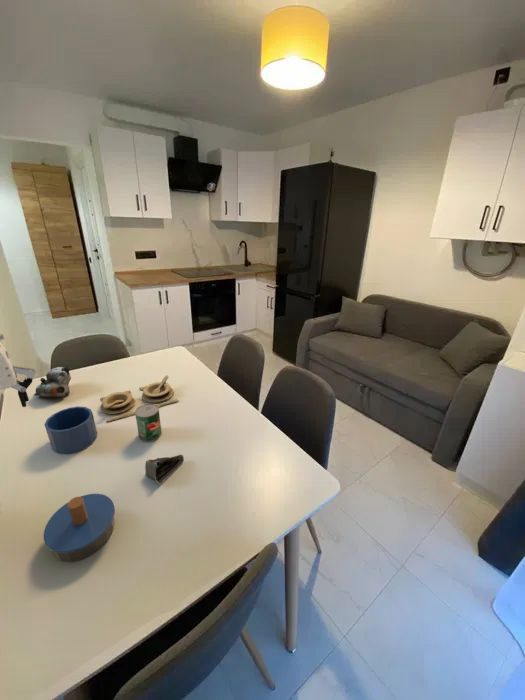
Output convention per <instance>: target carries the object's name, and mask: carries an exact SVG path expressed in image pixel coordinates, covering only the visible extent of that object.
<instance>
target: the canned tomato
mask: <svg viewBox="0 0 525 700" xmlns="http://www.w3.org/2000/svg"><path fill="white" fill-rule="evenodd" d="M155 404H156V403H144V404H141V405H140V406H138V407H137V408H136V409H134V410H135V420H136V427H137V433H138V439H139V441H141V442H142V443H143V442H144V443H151V442H154V441H157V440H158V439H160V438H161V436H162V433H163V431H162V425H161V419H160V418H161V417H160V407H158V406H157V405H155Z"/></svg>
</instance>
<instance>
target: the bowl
mask: <svg viewBox="0 0 525 700" xmlns="http://www.w3.org/2000/svg"><path fill="white" fill-rule="evenodd" d="M114 528H115V516H114V517H113V520H112V522H111V524H110V526H109V527H108V529H107V530H106V531H105V532H104V533H103V534H102V535H101V536H100V537H99V538H98V539H97V540H95V541H94V542H93V543H91V544H90V545H88V546H86V547H84V548H82V549H79V550H76V551H73V552H67V553H59V552H55V551H52V550H51V552H52V555H54V557H55V558H56V559H57V560H59V561H60V562H66V563H75V562H78V561H81V560H84V559H86V558H89V557H90V556H92V555H94V554H95V553H97V552H98V551H99V550H101V548H103V547H104V545H105V544H107V542H108V541H109V539H110V538H111V536H112V534H113V532H114V530H115V529H114Z"/></svg>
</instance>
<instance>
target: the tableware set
mask: <svg viewBox="0 0 525 700" xmlns="http://www.w3.org/2000/svg"><path fill="white" fill-rule="evenodd" d="M168 379H169V375H165V376H164V377H163V379H162V380H161V381H159V382H153V383H150V384H148V385H145V386H141V387H139V390H140V391H142V394H141V397H142V399H143V401H144V402H147V403H149V404H155V405H157V406H158V407H159V408H161V407H163V406H167V405H171V404H176V403H178V402H179V399H178V398H173V399H171V398H172V397H173V395H174V389H173V388H172V386H171V384H169V383H168V382H167V381H168ZM169 399H171V400H169ZM167 400H168V401H167ZM100 401H101V404H100V406H99V409H100V412H102V413H103V414H106V415H117V416H112V417H109V418H107V419H106V421H105V422H107V423H110V422H114V421H117V420H121V419H123V418H127V417H131V416H134V415H135V410H136V409H134V410H131V411H129V410H130V409H132V408H133V407H134V406H135V404H136V400H135V397H133V395H132V393H131V390H130V389H129V390H125V391H117V392H112V393H110V394H108V395H106V396H103V397H100ZM118 414H120V415H118ZM135 416H136V415H135Z"/></svg>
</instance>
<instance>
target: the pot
mask: <svg viewBox="0 0 525 700" xmlns="http://www.w3.org/2000/svg"><path fill="white" fill-rule="evenodd" d="M44 427H45V428H44V429H45V431H46V433H47V437H48V440H49V443H50V446H51V449H52V451H53V452H54V453H56V454H58V455H70V454H75V453H79V452H81V451H84V450H85V449H87V448H88V447H90V446H91V445H93V443H94V442H95V441H96V440H97V437H98V431H97V427H96V421H95V417H94V413H93V411H92V409H91V408H89V407H86V406H70V407H67V408H64V409H60V410H59V411H57V412H55V413H53V414H52V415H50V416H49V417H48V418H47V419H46V421H45V423H44Z"/></svg>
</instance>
